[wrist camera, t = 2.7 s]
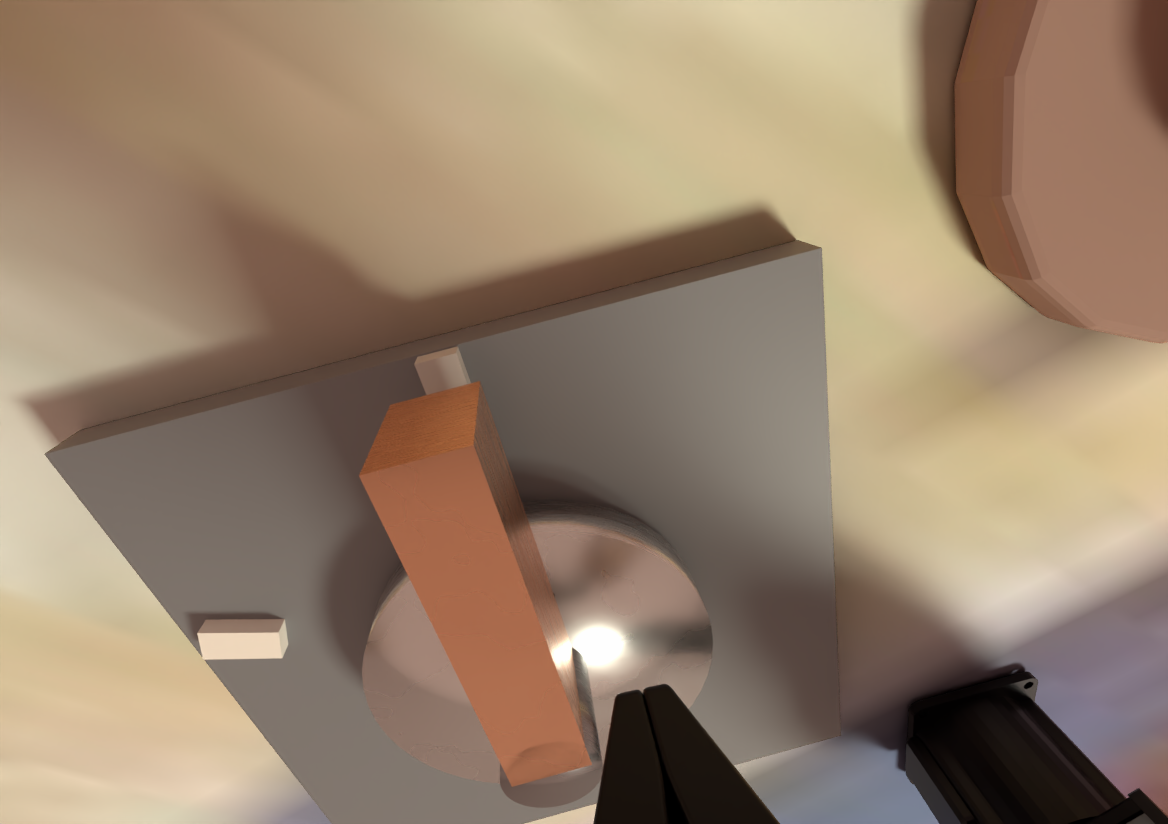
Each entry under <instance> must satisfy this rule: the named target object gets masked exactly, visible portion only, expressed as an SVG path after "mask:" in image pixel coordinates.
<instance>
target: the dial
mask: <svg viewBox="0 0 1168 824" xmlns="http://www.w3.org/2000/svg"><path fill="white" fill-rule="evenodd" d="M359 477H360V479H361V481H362V483H363V485H364V487H365V489H366V491H367V493H368V495H369V497H370V500H371V502H372V504H373V506H374V508H375V510H376V512H377V514H378V516H379V518H380V520H381V522H382V524H383V526H384V528H385V530H386V532H387V534H388V536H389V538H390V540H391V542H392V544H393V546H394V548H395V550H396V552H397V554H398V556H399V558H400V560H401V562H402V563H401V564H400V565H399V566H398V568H397V569H396V571H395V572H394V574H393V575H392V576H391V578H390V579H389V581H388V582H387V584H386V586H385V588H384V590H383V592H382V594H381V597H380V599H379V602H378V605H377V609H376V612H375V616H374V619H373V623H372V627H371V630H370V634H369V637H368V641H367V645H366V648H365V652H364V656H363V666H362V679H363V690H364V693H365V696H366V700H367V703H368V706H369V708H370V710H371V712H372V714H373V716H374V718H375V720H376V721H377V723H378V724H379V725H380V727H381V728H382V730H383V731H384V732H385V734H386V735H387V736H388V737H389V738H390V739H391V740H392V741H393V742H395V743H396V744H397V745H398V746H399V747H400V748H401V749H403V750H404V751H406V752H407V753H408V754H410V755H411V756H412V757H414V758H416V759H418V760H419V761H421V762H423V763H425V764H427V765H428V766H431V767H433V768H436V769H438V770H440V771H443V772H445V773H448V774H452V775H455V776H458V777H462V778H466V779H471V780H476V781H481V782H488V783H498V784H500V786H501V788H502V791H503V792H504V794H505V795H506V796H507V797H508V798H510V799H511V800H513V801H514V802H516V803H519V804H521V805H525V806H529V807H536V808H549V807H557V806H562V805H565V804H569V803H572V802H574V801H576V800H578V799H580V798H582V797H584V796H585V795H587V794H588V793H589V792H591V791H592V790H593V789H594V788H595V787H596V786H597V784H598V783H599V781H600V780H601V776H602V770H603V764H604V759H605V753H606V747H607V741H608V735H609V729H610V723H611V717H612V711H613V705H614V700H615V697H616V695H617V694H618V693H622V692H627V691H632V690H640V691H641V692H642V694H643V690H644V688H646V687H650V686H655V685H660V684H667V685H669V686H670V687H671V688H672V689H673V690H674V691H675V693H676V694H677V695H678V696H679V698H680V699H681V700H682V701H683V703H684V704H685V705H686V706H687V708H688V709H689V708H690V707H691V706H692V704H693V703H694V701H695V699H696V698H697V696H698V695H699V693H700V691H701V689H702V687H703V685H704V682H705V680H706V678H707V676H708V672H709V668H710V664H711V661H712V651H713V637H712V628H711V624H710V620H709V617H708V613H707V611H706V608H705V606H704V604H703V601H702V599H701V597H700V595H699V592H698V590H697V588H696V585H695V583H694V581H693V578H692V576H691V574H690V572H689V570H688V568H687V566H686V564H685V562H684V561H683V560H682V558H681V557H680V555H679V554H678V553H677V551H676V550H675V549H674V548H673V547H672V546H671V545H670V544H669V543H668V542H667V541H666V540H665V539H664V538H663V537H662V536H661V535H659V534H658V533H656V532H655V531H654V530H652V529H651V528H650V527H648V526H647V525H645V524H643V523H641V522H639V521H637V520H636V519H634V518H632V517H630V516H627V515H625V514H622V513H620V512H617V511H614V510H612V509H608V508H604V507H600V506H596V505H592V504H588V503H579V502H571V501H532V502H522V501H521V498H520V495H519V492H518V489H517V486H516V484H515V481H514V478H513V475H512V472H511V469H510V466H509V463H508V460H507V457H506V455H505V452H504V449H503V446H502V443H501V440H500V437H499V434H498V431H497V428H496V425H495V423H494V420H493V417H492V414H491V411H490V408H489V405H488V402H487V399H486V396H485V394H484V391H483V388H482V385H481V382H480V381H478V382H474V383H470V384H466V385H463V386H459V387H455V388H451V389H448V390H444V391H440V392H436V393H433V394H429V395H425V396H421V397H417V398H414V399H410V400H406V401H402V402H399V403H395V404H391V405H390V406H389V409H388V411H387V413H386V416H385V418H384V420H383V422H382V425H381V427H380V429H379V431H378V434H377V436H376V438H375V440H374V443H373V445H372V447H371V449H370V452H369V454H368V456H367V459H366V461H365V463H364V465H363V468H362V470H361V472H360V474H359Z"/></svg>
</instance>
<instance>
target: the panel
mask: <svg viewBox="0 0 1168 824" xmlns="http://www.w3.org/2000/svg"><path fill="white" fill-rule="evenodd" d="M478 381H480V382H481V385H482V388H483V391H484V394H485V396H486V399H487V402H488V405H489V408H490V411H491V414H492V417H493V420H494V423H495V425H496V428H497V431H498V434H499V437H500V440H501V443H502V446H503V449H504V452H505V455H506V457H507V460H508V463H509V466H510V469H511V472H512V475H513V478H514V481H515V484H516V486H517V489H518V492H519V495H520V498H521V501H522V502H532V501H571V502H579V503H588V504H592V505H596V506H600V507H604V508H608V509H612V510H614V511H617V512H620V513H622V514H625V515H627V516H630V517H632V518H634V519H636V520H637V521H639V522H641V523H643V524H645V525H647V526H648V527H650V528H651V529H652V530H654V531H655V532H656V533H658V534H659V535H661V536H662V537H663V538H664V539H665V540H666V541H667V542H668V543H669V544H670V545H671V546H672V547H673V548H674V549H675V550H676V551H677V553H678V554H679V555H680V557H681V558H682V560H683V561H684V562H685V564H686V566H687V568H688V570H689V572H690V574H691V576H692V578H693V581H694V583H695V585H696V588H697V590H698V592H699V595H700V597H701V599H702V601H703V604H704V606H705V608H706V611H707V613H708V617H709V620H710V624H711V628H712V637H713V651H712V661H711V664H710V668H709V672H708V676H707V678H706V680H705V682H704V685H703V687H702V689H701V691H700V693H699V695H698V696H697V698H696V699H695V701H694V703H693V704H692V706H691V707H690V708H689V710H690V711H691V713H692V714H693V715H694V716H695V718H696V719H697V720H698V722H699V723H700V724H701V725H702V727H703V728H704V729H705V730H706V732H707V733H708V734H709V735H710V737H711V738H712V739H713V740H714V742H715V743H716V744H717V745H718V747H719V748H720V749H721V750H722V752H723V753H724V754H725V755H726V757H727V758H728V759H729V760H730V762H731V763H732V764H733V765H736V764H740V763H744V762H747V761H751V760H754V759H758V758H762V757H765V756H769V755H772V754H776V753H780V752H783V751H787V750H790V749H794V748H798V747H801V746H805V745H808V744H812V743H816V742H819V741H823V740H826V739H830V738H834V737H837V736H841V723H840V698H839V673H838V647H837V622H836V597H835V571H834V546H833V521H832V495H831V470H830V445H829V420H828V394H827V369H826V344H825V318H824V293H823V268H822V248H820V247H817V246H814V245H811V244H808V243H805V242H802V241H799V240H796V241H793V242H789V243H785V244H781V245H777V246H774V247H770V248H766V249H762V250H759V251H755V252H751V253H747V254H743V255H740V256H736V257H732V258H728V259H725V260H721V261H717V262H713V263H709V264H706V265H702V266H698V267H694V268H691V269H687V270H683V271H679V272H676V273H672V274H668V275H664V276H660V277H657V278H653V279H649V280H645V281H642V282H638V283H634V284H630V285H626V286H623V287H619V288H615V289H611V290H608V291H604V292H600V293H596V294H592V295H589V296H585V297H581V298H577V299H574V300H570V301H566V302H562V303H558V304H555V305H551V306H547V307H543V308H540V309H536V310H532V311H528V312H524V313H521V314H517V315H513V316H509V317H506V318H502V319H498V320H494V321H490V322H487V323H483V324H479V325H475V326H472V327H468V328H464V329H460V330H456V331H453V332H449V333H445V334H441V335H438V336H434V337H430V338H426V339H423V340H419V341H415V342H411V343H407V344H404V345H400V346H396V347H392V348H389V349H385V350H381V351H377V352H373V353H370V354H366V355H362V356H358V357H355V358H351V359H347V360H343V361H339V362H336V363H332V364H328V365H324V366H321V367H317V368H313V369H309V370H305V371H302V372H298V373H294V374H290V375H287V376H283V377H279V378H275V379H271V380H268V381H264V382H260V383H256V384H253V385H249V386H245V387H241V388H237V389H234V390H230V391H226V392H222V393H219V394H215V395H211V396H207V397H203V398H200V399H196V400H192V401H188V402H185V403H181V404H177V405H173V406H169V407H166V408H162V409H158V410H154V411H151V412H147V413H143V414H139V415H136V416H132V417H128V418H124V419H120V420H117V421H113V422H109V423H105V424H102V425H98V426H94V427H90V428H86V429H83V430H80V431H78V432H77V433H75V434H74V435H72V436H71V437H69V438H68V439H66V440H65V441H63V442H62V443H60V444H59V445H57V446H56V447H54V448H53V449H51V450H50V451H48V452H47V453H45V456H46V457H47V458H48V459H49V461H50V462H51V463H52V465H53V466H54V467H55V468H56V470H57V471H58V472H59V474H60V475H61V476H62V477H63V479H64V480H65V481H66V483H67V484H68V485H69V486H70V488H71V489H72V490H73V492H74V493H75V494H76V495H77V497H78V498H79V499H80V501H81V502H82V503H83V504H84V506H85V507H86V508H87V510H88V511H89V512H90V513H91V515H92V516H93V517H94V519H95V520H96V521H97V522H98V524H99V525H100V526H101V528H102V529H103V530H104V531H105V533H106V534H107V535H108V537H109V538H110V539H111V540H112V542H113V543H114V544H115V546H116V547H117V548H118V549H119V551H120V552H121V553H122V555H123V556H124V557H125V558H126V560H127V561H128V562H129V564H130V565H131V566H132V567H133V569H134V570H135V571H136V573H137V574H138V575H139V576H140V578H141V579H142V580H143V582H144V583H145V584H146V585H147V587H148V588H149V589H150V591H151V592H152V593H153V594H154V596H155V597H156V598H157V600H158V601H159V602H160V603H161V605H162V606H163V607H164V609H165V610H166V611H167V612H168V614H169V615H170V616H171V618H172V619H173V620H174V621H175V623H176V624H177V625H178V626H179V628H180V629H181V630H182V632H183V633H184V634H185V635H186V637H187V638H188V639H189V641H190V642H191V643H192V644H193V646H194V647H195V648H196V650H197V651H198V652H199V653H200V655H201V656H202V657H203V660H205V661H206V662H207V664H208V665H209V666H210V668H211V669H212V670H213V671H214V673H215V674H216V675H217V677H218V678H219V679H220V680H221V682H222V683H223V684H224V686H225V687H226V688H227V689H228V691H229V692H230V693H231V695H232V696H233V697H234V698H235V700H236V701H237V702H238V704H239V705H240V706H241V707H242V709H243V710H244V711H245V713H246V714H247V715H248V716H249V718H250V719H251V720H252V722H253V723H254V724H255V725H256V727H257V728H258V729H259V731H260V732H261V733H262V734H263V736H264V737H265V738H266V740H267V741H268V742H269V743H270V745H271V746H272V747H273V749H274V750H275V751H276V752H277V754H278V755H279V756H280V758H281V759H282V760H283V761H284V763H285V764H286V765H287V767H288V768H289V769H290V770H291V772H292V773H293V774H294V776H295V777H296V778H297V779H298V781H299V782H300V783H301V785H302V786H303V787H304V788H305V790H306V791H307V792H308V794H309V795H310V796H311V797H312V799H313V800H314V801H315V803H316V804H317V805H318V806H319V808H320V809H321V810H322V812H323V813H324V814H325V815H326V817H327V818H328V819H329V821H330V822H331V823H332V824H524V823H528V822H531V821H535V820H539V819H542V818H546V817H549V816H553V815H557V814H560V813H564V812H567V811H571V810H575V809H578V808H582V807H585V806H589V805H593V804H596V803H597V800H598V794H599V788H600V782H601V780H600V781H599V783H598V784H597V786H596V787H595V788H594V789H593V790H592V791H591V792H589V793H588V794H587V795H585V796H584V797H582V798H580V799H578V800H576V801H574V802H572V803H569V804H565V805H562V806H557V807H549V808H536V807H529V806H525V805H521V804H519V803H516V802H514V801H513V800H511V799H510V798H508V797H507V796H506V795H505V794H504V792H503V791H502V788H501V786H500V784H498V783H488V782H481V781H476V780H471V779H466V778H462V777H458V776H455V775H452V774H448V773H445V772H443V771H440V770H438V769H436V768H433V767H431V766H428V765H427V764H425V763H423V762H421V761H419V760H418V759H416V758H414V757H412V756H411V755H410V754H408V753H407V752H406V751H404V750H403V749H401V748H400V747H399V746H398V745H397V744H396V743H395V742H393V741H392V740H391V739H390V738H389V737H388V736H387V735H386V734H385V732H384V731H383V730H382V728H381V727H380V725H379V724H378V723H377V721H376V720H375V718H374V716H373V714H372V712H371V710H370V708H369V706H368V703H367V700H366V696H365V693H364V690H363V679H362V666H363V656H364V652H365V648H366V645H367V641H368V637H369V634H370V630H371V627H372V623H373V619H374V616H375V612H376V609H377V605H378V602H379V599H380V597H381V594H382V592H383V590H384V588H385V586H386V584H387V582H388V581H389V579H390V578H391V576H392V575H393V574H394V572H395V571H396V569H397V568H398V566H399V565H400V564H401V563H402V562H401V560H400V558H399V556H398V554H397V552H396V550H395V548H394V546H393V544H392V542H391V540H390V538H389V536H388V534H387V532H386V530H385V528H384V526H383V524H382V522H381V520H380V518H379V516H378V514H377V512H376V510H375V508H374V506H373V504H372V502H371V500H370V497H369V495H368V493H367V491H366V489H365V487H364V485H363V483H362V481H361V479H360V477H359V474H360V472H361V470H362V468H363V465H364V463H365V461H366V459H367V456H368V454H369V452H370V449H371V447H372V445H373V443H374V440H375V438H376V436H377V434H378V431H379V429H380V427H381V425H382V422H383V420H384V418H385V416H386V413H387V411H388V409H389V406H390V405H391V404H395V403H399V402H402V401H406V400H410V399H414V398H417V397H421V396H425V395H429V394H433V393H436V392H440V391H444V390H448V389H451V388H455V387H459V386H463V385H466V384H470V383H474V382H478Z"/></svg>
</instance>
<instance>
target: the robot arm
mask: <svg viewBox="0 0 1168 824" xmlns="http://www.w3.org/2000/svg"><path fill="white" fill-rule="evenodd" d="M1037 685H1038V680H1037V679H1036V678H1035V677H1034V676H1033V675H1032V674H1031V673H1030V672H1022V673H1018V674H1014V675H1011V676H1007V677H1004V678H1000V679H996V680H993V681H989V682H986V683H982V684H978V685H975V686H971V687H968V688H964V689H960V690H957V691H953V692H950V693H946V694H942V695H939V696H935V697H932V698H928V699H924V700H921V701H918V702H915V703H914V704H912V705H911V706H910V708H909V714H908V736H907V743H906V765H905V770H906V776H907V777H908V779H909V780H910V782H911V783H912V784H914V785H915V786H916V788H917V789H918V791H919V792H920V794H921V796H922V797H923V799H924V800H925V802H926V803H927V805H928V806H929V808H930V810H931V811H932V813H933V814H934V816H935V817H936V819H937V820H938V822H939V824H1168V816H1167V815H1166V814H1165V813H1164V812H1163V811H1162V810H1161V809H1160V808H1159V807H1158V806H1157V805H1156V804H1155V803H1154V802H1153V801H1152V800H1151V799H1150V798H1149V797H1148V796H1147V795H1146V794H1145V793H1143V792H1142V791H1141V790H1140V789H1139V788H1138V789H1136V790H1135V791H1133V792H1131V793H1129V794H1128V796H1129V798H1126V797H1125V796H1124V795H1123V794H1122V793H1121V792H1120V791H1119V790H1118V789H1117V788H1116V787H1115V786H1114V785H1113V784H1112V783H1111V782H1110V781H1109V779H1108V778H1107V777H1106V776H1105V775H1104V774H1103V773H1102V772H1101V771H1100V770H1099V769H1098V768H1097V767H1096V766H1095V765H1094V764H1093V763H1092V762H1091V761H1090V760H1089V759H1088V757H1087V756H1086V755H1085V754H1084V753H1083V752H1082V751H1081V750H1080V749H1079V748H1078V747H1077V746H1076V745H1075V744H1074V743H1073V742H1072V741H1071V740H1070V739H1069V738H1068V736H1067V735H1066V734H1065V733H1064V732H1063V731H1062V730H1061V729H1060V728H1059V727H1058V726H1057V725H1056V724H1055V723H1054V722H1053V721H1052V720H1051V719H1050V718H1049V717H1048V716H1047V714H1046V713H1045V712H1044V711H1043V710H1042V709H1041V708H1040V707H1039V706H1038V705H1037V704H1036V703H1035V702H1034V701H1035V695H1036V690H1037ZM594 824H780V823H779V822H778V820H777V819H776V818H775V817H774V815H773V814H772V813H771V812H770V810H769V809H768V808H767V807H766V805H765V804H764V803H763V802H762V800H761V799H760V798H759V797H758V795H757V794H756V793H755V792H754V790H753V789H752V788H751V787H750V785H749V784H748V783H747V782H746V780H745V779H744V778H743V777H742V775H741V774H740V773H739V772H738V770H737V769H736V768H735V767H734V765H733V764H732V763H731V762H730V760H729V759H728V758H727V757H726V755H725V754H724V753H723V752H722V750H721V749H720V748H719V747H718V745H717V744H716V743H715V742H714V740H713V739H712V738H711V737H710V735H709V734H708V733H707V732H706V730H705V729H704V728H703V727H702V725H701V724H700V723H699V722H698V720H697V719H696V718H695V716H694V715H693V714H692V713H691V711H690V710H689V709H688V708H687V706H686V705H685V704H684V703H683V701H682V700H681V699H680V698H679V696H678V695H677V694H676V693H675V691H674V690H673V689H672V688H671V687H670V686H669V685H667V684H660V685H655V686H650V687H646V688H644V690H643V694H642V692H641V691H640V690H632V691H627V692H622V693H618V694H617V695H616V697H615V700H614V705H613V711H612V717H611V723H610V729H609V735H608V741H607V747H606V753H605V759H604V764H603V770H602V776H601V782H600V788H599V794H598V800H597V806H596V812H595V818H594Z"/></svg>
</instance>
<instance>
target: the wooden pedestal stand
mask: <svg viewBox="0 0 1168 824" xmlns="http://www.w3.org/2000/svg"><path fill="white" fill-rule="evenodd" d="M954 90H955V152H956V193H957V195H958V198H959V200H960V203H961V205H962V208H963V210H964V212H965V215H966V217H967V220H968V222H969V225H970V227H971V229H972V232H973V234H974V237H975V239H976V242H977V244H978V247H979V249H980V251H981V254H982V256H983V259H984V261H985V264H986V266H987V269H988V270H990V271H991V272H992V273H993V274H994V275H996V276H997V277H998V278H999V279H1000V280H1002V281H1003V282H1004V283H1005V284H1006V285H1007V286H1009V287H1010V288H1011V289H1012V290H1013V291H1015V292H1016V293H1017V294H1018V295H1019V296H1020V297H1022V298H1023V299H1024V300H1025V301H1026V302H1028V303H1029V304H1030V305H1031V306H1032V307H1034V308H1035V309H1036V310H1037V311H1038V312H1039V313H1041V314H1042V315H1044V316H1046V317H1048V318H1051V319H1054V320H1057V321H1061V322H1064V323H1067V324H1070V325H1073V326H1076V327H1080V328H1085V329H1090V330H1095V331H1100V332H1105V333H1109V334H1114V335H1119V336H1124V337H1129V338H1134V339H1139V340H1144V341H1148V342H1154V343H1165V342H1168V0H977V2H976V6H975V10H974V13H973V17H972V21H971V24H970V28H969V32H968V35H967V39H966V43H965V47H964V50H963V54H962V58H961V61H960V65H959V69H958V72H957V76H956V80H955V84H954Z"/></svg>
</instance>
